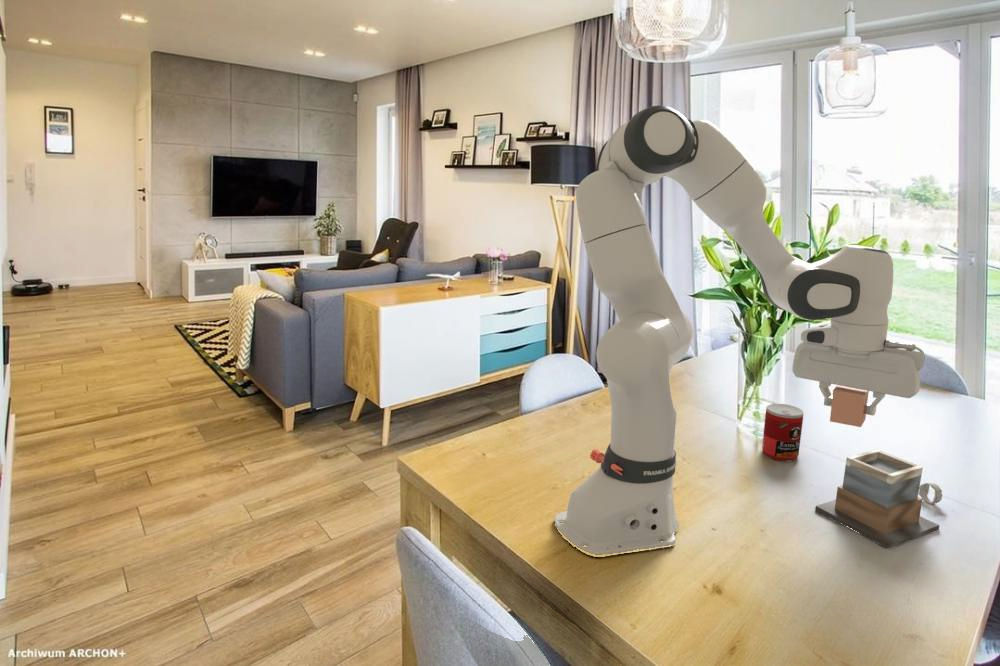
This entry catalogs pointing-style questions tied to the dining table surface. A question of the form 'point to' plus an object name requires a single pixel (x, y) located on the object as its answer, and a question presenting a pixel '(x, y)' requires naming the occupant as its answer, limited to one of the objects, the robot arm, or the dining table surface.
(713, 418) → the dining table surface
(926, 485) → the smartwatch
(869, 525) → the stacked open-top box
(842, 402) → the light orange block
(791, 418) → the canned food
